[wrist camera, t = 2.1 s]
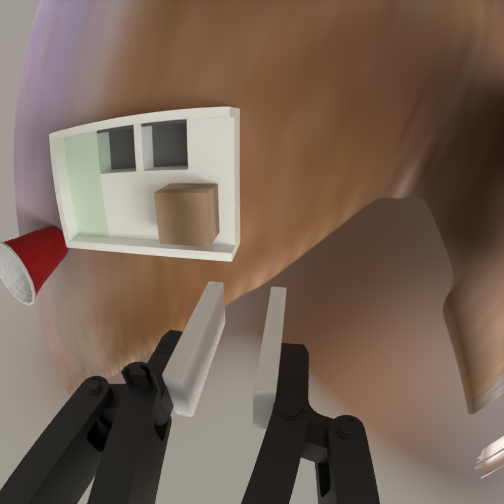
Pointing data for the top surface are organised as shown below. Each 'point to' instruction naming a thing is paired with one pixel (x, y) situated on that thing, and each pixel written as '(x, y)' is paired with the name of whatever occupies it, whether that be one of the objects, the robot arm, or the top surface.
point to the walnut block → (187, 214)
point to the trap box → (145, 178)
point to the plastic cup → (31, 261)
